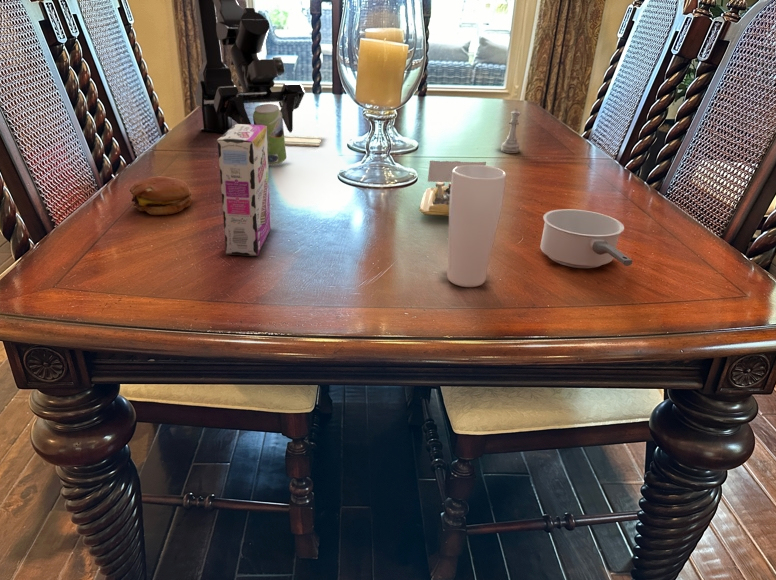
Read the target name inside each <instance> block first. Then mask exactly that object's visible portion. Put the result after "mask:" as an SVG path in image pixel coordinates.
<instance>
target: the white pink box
mask: <svg viewBox="0 0 776 580" xmlns="http://www.w3.org/2000/svg"><path fill="white" fill-rule="evenodd" d="M232 126H233V127H232V128H231V129H230V130H229V131H227V132H225V133H223V134H222V135H220V137H219V138H217V140H216V142H217V151H218V165H219V166H218V167H219V179H220V191H221V192H220V193H221V204H222V217H223V229H224V240H225V242H224V243H225V254H226V255H229V256H231V255H232V256H246V257H258V256H259V254H260V252H261V249H262V248H263V245H264V243H265V242H266V239H267V238H268V236H269V233H270V232H271V205H270V183H269V182H270V181H269V180H270V179H269V165H268V147H267V126H264V125H254V124H252V123H251V124H238V123H236V124H234V125H232Z"/></svg>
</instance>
